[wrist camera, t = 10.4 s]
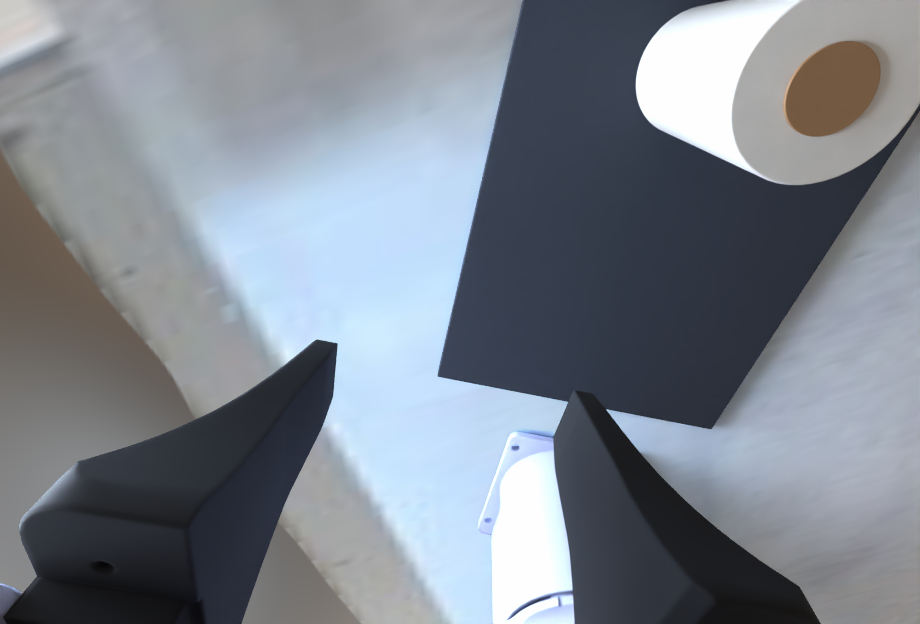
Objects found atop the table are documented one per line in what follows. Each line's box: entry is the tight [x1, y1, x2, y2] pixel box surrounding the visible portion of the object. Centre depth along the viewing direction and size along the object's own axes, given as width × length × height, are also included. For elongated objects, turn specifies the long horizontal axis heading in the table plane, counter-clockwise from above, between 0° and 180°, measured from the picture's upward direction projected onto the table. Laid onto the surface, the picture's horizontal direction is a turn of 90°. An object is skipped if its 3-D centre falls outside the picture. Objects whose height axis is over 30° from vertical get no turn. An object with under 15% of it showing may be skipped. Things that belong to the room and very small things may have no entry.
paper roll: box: [636, 0, 920, 185], centre depth 14 cm, size 8×4×4 cm
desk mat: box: [438, 0, 920, 429], centre depth 21 cm, size 22×16×1 cm
